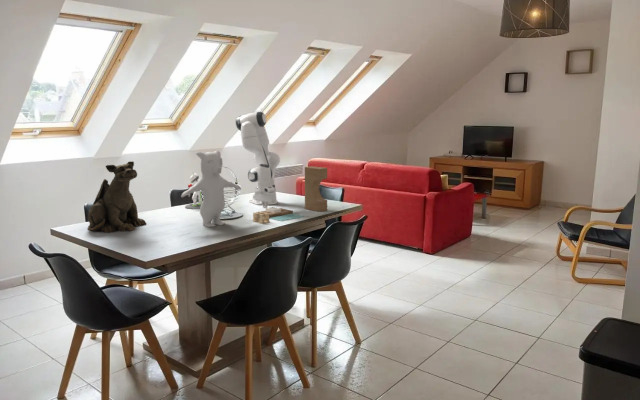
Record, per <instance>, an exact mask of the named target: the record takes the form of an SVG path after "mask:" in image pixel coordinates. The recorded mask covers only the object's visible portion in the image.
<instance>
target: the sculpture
mask: <svg viewBox="0 0 640 400" xmlns="http://www.w3.org/2000/svg"><path fill="white" fill-rule="evenodd" d="M134 166H135V162H134V161H128V162H127V163H124V164H119V165H115V164H107V165H105V169H106V170H107V171H108V172H109V173H113V174H114V177H113V179H112V180H111V182H110V184H109V181H108V179H104V178H103V181H102V183H101V184H100V188H99V190H98V191H97V194H96V196H95V199H94V201H93V203H92V206H91V207H90V208H89V211H88V216H87V218H88V219H87V220H88V224H89V225H87V226H88V227H87V229H88V230H89V231H93V232H104V233H113V232H116V231H118V232H126V231H127V232H128V231H129V232H132V231H134V230H135V229H136V227H142V226H145V225H147V222H146V221H145V220H144V219H142V218H140V217H139V214H138V207H137V204H136V202H135V200H134V196H133V194H132V192H130V184H131V181H132V180H133V179H136V178H137V177H138V172H137V170H136V169H134Z"/></svg>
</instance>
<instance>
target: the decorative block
mask: <svg viewBox="0 0 640 400" xmlns="http://www.w3.org/2000/svg"><path fill="white" fill-rule="evenodd" d="M325 179H328V167H322V166H320V167H319V166H313V165H312V166H305V167H304V209H305V210H309V211H313V212H314V211H315V212H320V213H321V212H325V211H327V210H328V200H327V199H325V198H324V197H323V196H322V195H321V190H320V187H321V185H320V184H321V183H322V181H323V180H325Z"/></svg>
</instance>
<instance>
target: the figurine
mask: <svg viewBox="0 0 640 400" xmlns="http://www.w3.org/2000/svg"><path fill="white" fill-rule="evenodd" d="M199 179H200V178H199V174H198V173H194V172H192V175H191V176H190V177H189V180H190V183H188V184H187V190H188V189H189V188H190V187H192V186H194V184H195V183H196V182H197V181H198V180H199ZM192 194H193V195H192V197H191V200H192V201H193V203H188V204H186V205H185V206H184V208H185V209H187V210H200V207H201V204H202V202H203V195H202V192H201V191H196V192H193V193H192Z"/></svg>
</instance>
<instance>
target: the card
mask: <svg viewBox="0 0 640 400" xmlns="http://www.w3.org/2000/svg"><path fill="white" fill-rule="evenodd" d="M265 211H267V212H272V213H277V212H281V209H279V208H277V207H275V206H271V207H267V208H265Z"/></svg>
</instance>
